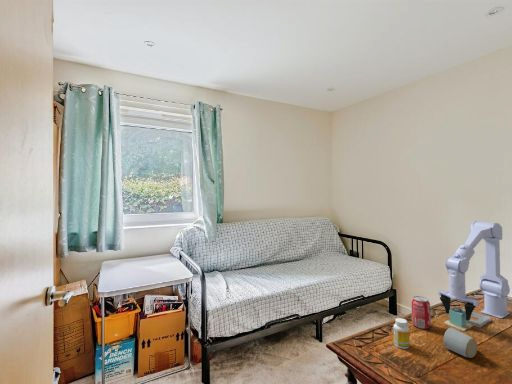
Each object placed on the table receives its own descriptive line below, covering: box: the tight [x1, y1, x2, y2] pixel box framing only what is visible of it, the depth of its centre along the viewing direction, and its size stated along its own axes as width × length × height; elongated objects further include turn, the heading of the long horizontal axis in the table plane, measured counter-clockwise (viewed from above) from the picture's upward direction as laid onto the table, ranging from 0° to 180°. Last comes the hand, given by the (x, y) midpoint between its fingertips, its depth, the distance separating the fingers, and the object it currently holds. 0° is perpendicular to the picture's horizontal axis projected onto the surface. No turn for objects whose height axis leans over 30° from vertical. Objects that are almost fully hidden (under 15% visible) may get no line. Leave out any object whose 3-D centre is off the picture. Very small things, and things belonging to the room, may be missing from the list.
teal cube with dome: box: [448, 306, 467, 327], centre depth 120 cm, size 5×5×6 cm
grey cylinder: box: [443, 327, 479, 359], centre depth 100 cm, size 11×8×8 cm
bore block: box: [461, 308, 492, 328], centre depth 124 cm, size 11×11×2 cm
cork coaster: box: [442, 319, 474, 332], centre depth 120 cm, size 8×8×1 cm
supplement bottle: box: [392, 317, 410, 350], centre depth 105 cm, size 5×5×10 cm
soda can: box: [411, 295, 432, 330], centre depth 119 cm, size 7×7×12 cm
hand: (457, 316), depth 120 cm, fingers open, 7 cm apart
